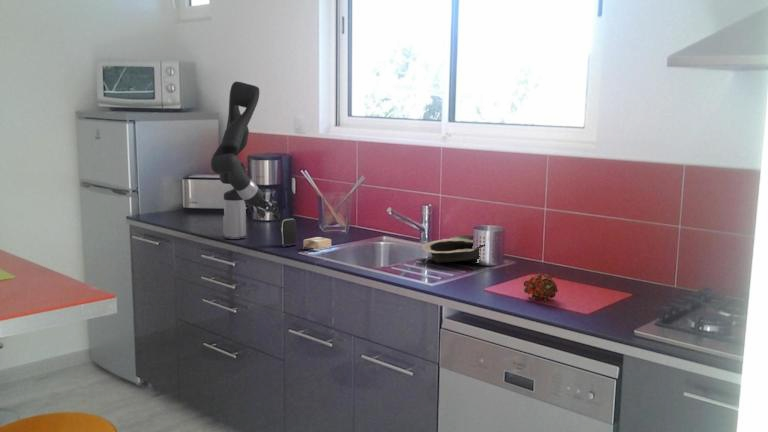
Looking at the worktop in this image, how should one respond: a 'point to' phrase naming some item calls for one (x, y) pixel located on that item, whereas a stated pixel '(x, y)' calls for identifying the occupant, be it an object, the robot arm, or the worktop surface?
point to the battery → (288, 231)
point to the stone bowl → (453, 249)
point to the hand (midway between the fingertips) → (271, 217)
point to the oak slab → (317, 243)
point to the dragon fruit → (541, 287)
